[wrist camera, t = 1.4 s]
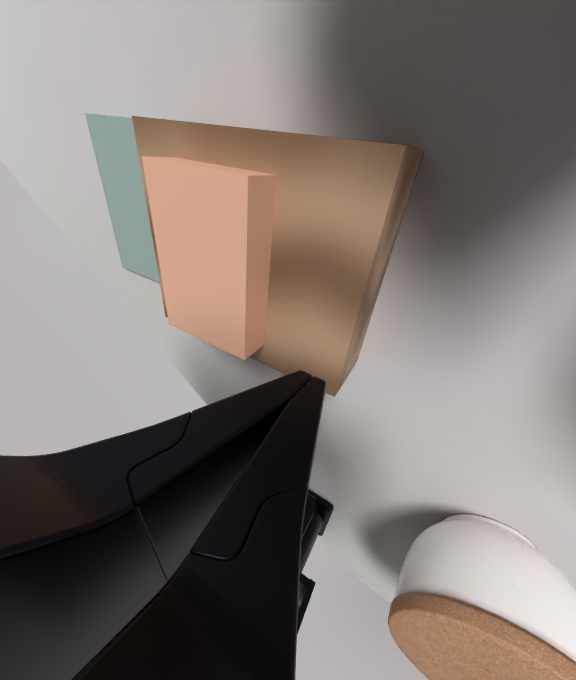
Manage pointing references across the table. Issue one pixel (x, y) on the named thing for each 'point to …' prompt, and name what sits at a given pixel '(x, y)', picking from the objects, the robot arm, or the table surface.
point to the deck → (308, 231)
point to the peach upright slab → (213, 248)
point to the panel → (124, 191)
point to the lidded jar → (483, 605)
